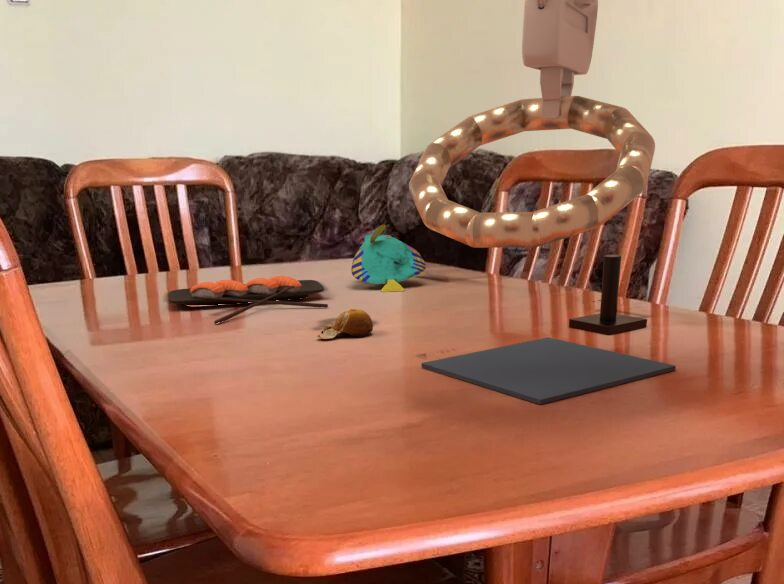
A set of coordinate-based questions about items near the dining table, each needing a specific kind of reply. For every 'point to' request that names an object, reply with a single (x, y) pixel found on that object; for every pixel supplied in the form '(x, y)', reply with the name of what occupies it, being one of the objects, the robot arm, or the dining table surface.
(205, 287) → the sushi plate
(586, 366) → the mat
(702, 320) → the dining table surface
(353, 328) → the fruit
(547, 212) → the ring
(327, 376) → the dining table surface
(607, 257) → the post
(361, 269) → the decorative fish
